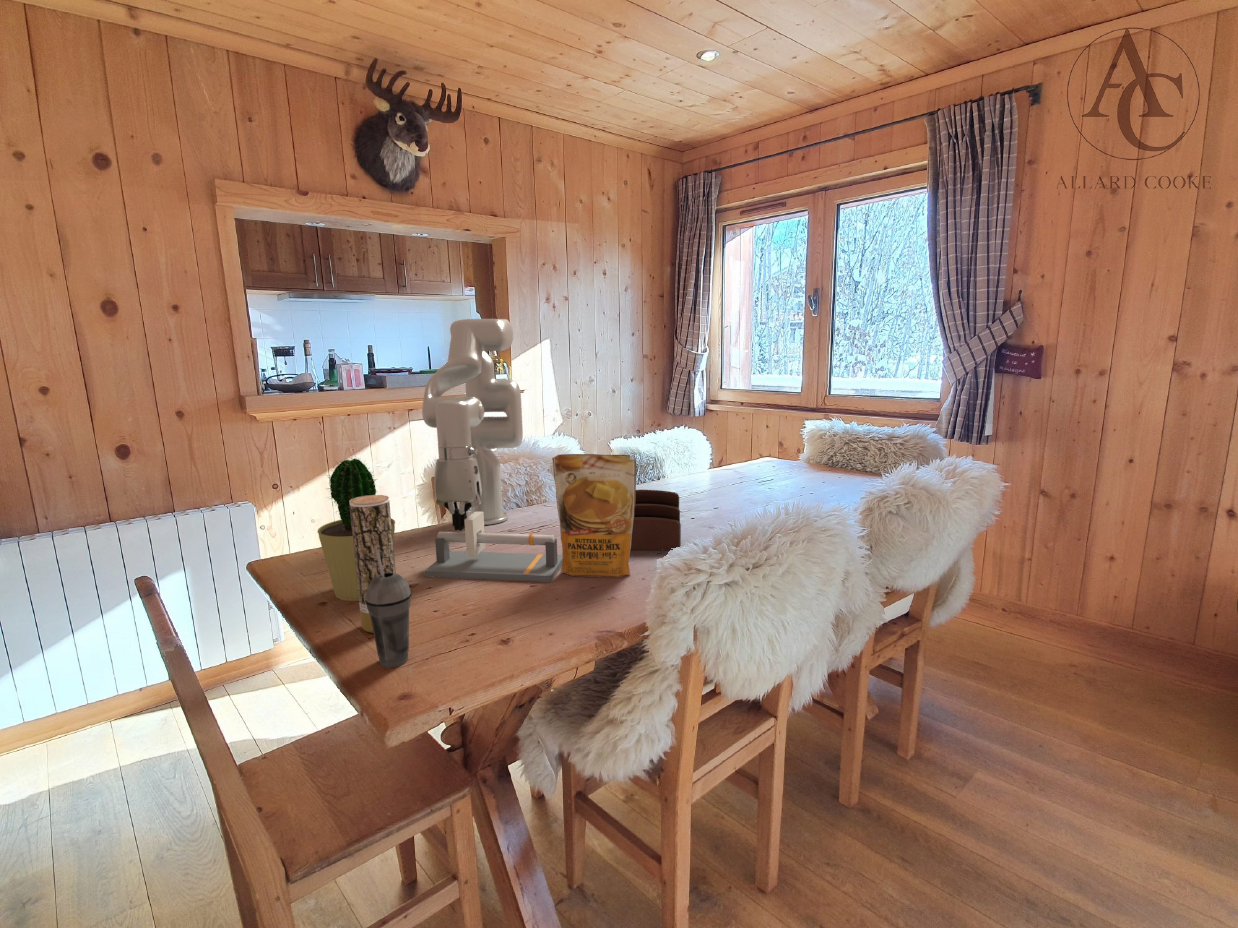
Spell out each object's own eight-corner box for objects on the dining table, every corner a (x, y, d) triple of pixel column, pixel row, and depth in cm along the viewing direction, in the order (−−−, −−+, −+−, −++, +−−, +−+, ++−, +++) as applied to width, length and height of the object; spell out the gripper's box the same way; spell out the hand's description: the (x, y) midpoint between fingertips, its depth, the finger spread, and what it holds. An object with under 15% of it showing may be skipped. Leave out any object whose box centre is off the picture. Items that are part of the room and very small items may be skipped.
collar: (477, 546, 149) (475, 511, 148) (485, 547, 149) (483, 511, 147) (466, 556, 142) (464, 519, 141) (474, 556, 142) (472, 519, 140)
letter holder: (606, 538, 168) (606, 488, 165) (679, 538, 167) (679, 489, 164) (604, 550, 158) (603, 497, 155) (680, 551, 157) (681, 498, 154)
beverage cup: (424, 660, 103) (415, 548, 100) (382, 676, 98) (371, 559, 95) (404, 646, 109) (395, 538, 105) (363, 661, 103) (352, 548, 100)
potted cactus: (391, 572, 144) (380, 447, 138) (408, 594, 131) (396, 457, 126) (320, 586, 136) (305, 454, 130) (330, 611, 123) (314, 466, 117)
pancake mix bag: (559, 566, 147) (555, 451, 142) (637, 568, 145) (637, 452, 139) (552, 576, 140) (548, 457, 135) (634, 579, 138) (634, 458, 133)
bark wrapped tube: (387, 635, 112) (375, 505, 108) (354, 632, 114) (341, 503, 109) (406, 619, 119) (396, 495, 114) (375, 617, 120) (363, 494, 115)
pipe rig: (449, 556, 155) (447, 523, 153) (565, 560, 151) (563, 526, 149) (424, 576, 141) (422, 540, 139) (551, 582, 137) (549, 544, 135)
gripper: (491, 450, 144) (495, 525, 148) (432, 450, 146) (437, 523, 150) (480, 456, 137) (484, 534, 140) (417, 455, 139) (423, 532, 143)
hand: (460, 528), depth 145 cm, fingers closed
